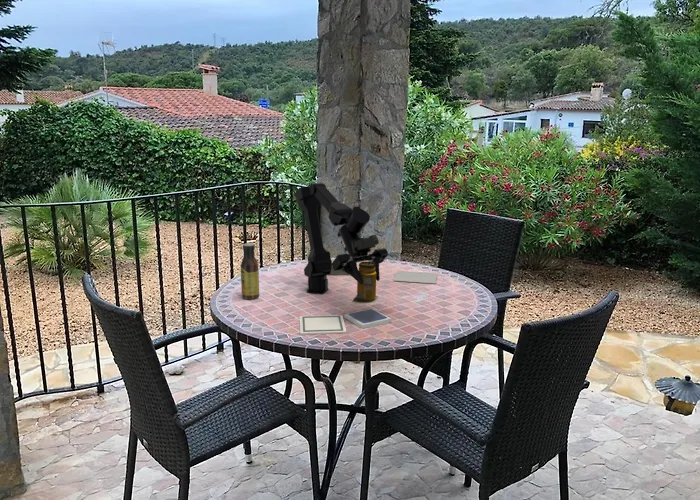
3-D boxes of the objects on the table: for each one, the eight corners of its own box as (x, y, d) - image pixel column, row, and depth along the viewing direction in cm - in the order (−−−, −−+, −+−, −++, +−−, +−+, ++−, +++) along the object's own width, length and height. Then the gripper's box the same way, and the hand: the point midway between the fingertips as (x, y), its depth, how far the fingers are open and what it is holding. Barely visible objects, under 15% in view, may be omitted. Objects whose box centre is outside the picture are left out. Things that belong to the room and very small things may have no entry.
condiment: (379, 296, 180) (379, 261, 176) (373, 305, 172) (374, 268, 168) (357, 294, 181) (357, 259, 178) (351, 303, 173) (351, 266, 170)
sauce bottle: (242, 294, 201) (240, 241, 196) (260, 294, 202) (258, 241, 197) (240, 300, 195) (238, 246, 190) (258, 300, 195) (256, 246, 190)
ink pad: (344, 317, 180) (344, 313, 179) (372, 311, 185) (372, 307, 185) (362, 328, 171) (362, 324, 170) (391, 322, 176) (391, 317, 176)
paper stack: (434, 292, 207) (434, 290, 206) (369, 288, 211) (369, 286, 211) (437, 275, 229) (437, 273, 229) (377, 271, 233) (378, 269, 233)
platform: (317, 271, 232) (317, 256, 231) (359, 271, 233) (359, 256, 232) (317, 280, 221) (317, 264, 219) (361, 279, 222) (362, 264, 220)
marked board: (299, 317, 179) (299, 315, 179) (342, 316, 181) (342, 314, 181) (300, 334, 166) (300, 332, 166) (346, 333, 167) (346, 331, 167)
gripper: (336, 230, 169) (355, 273, 163) (386, 224, 179) (405, 265, 172) (324, 249, 178) (341, 291, 171) (372, 242, 187) (390, 282, 181)
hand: (370, 281), depth 174 cm, fingers closed on condiment, 6 cm apart
